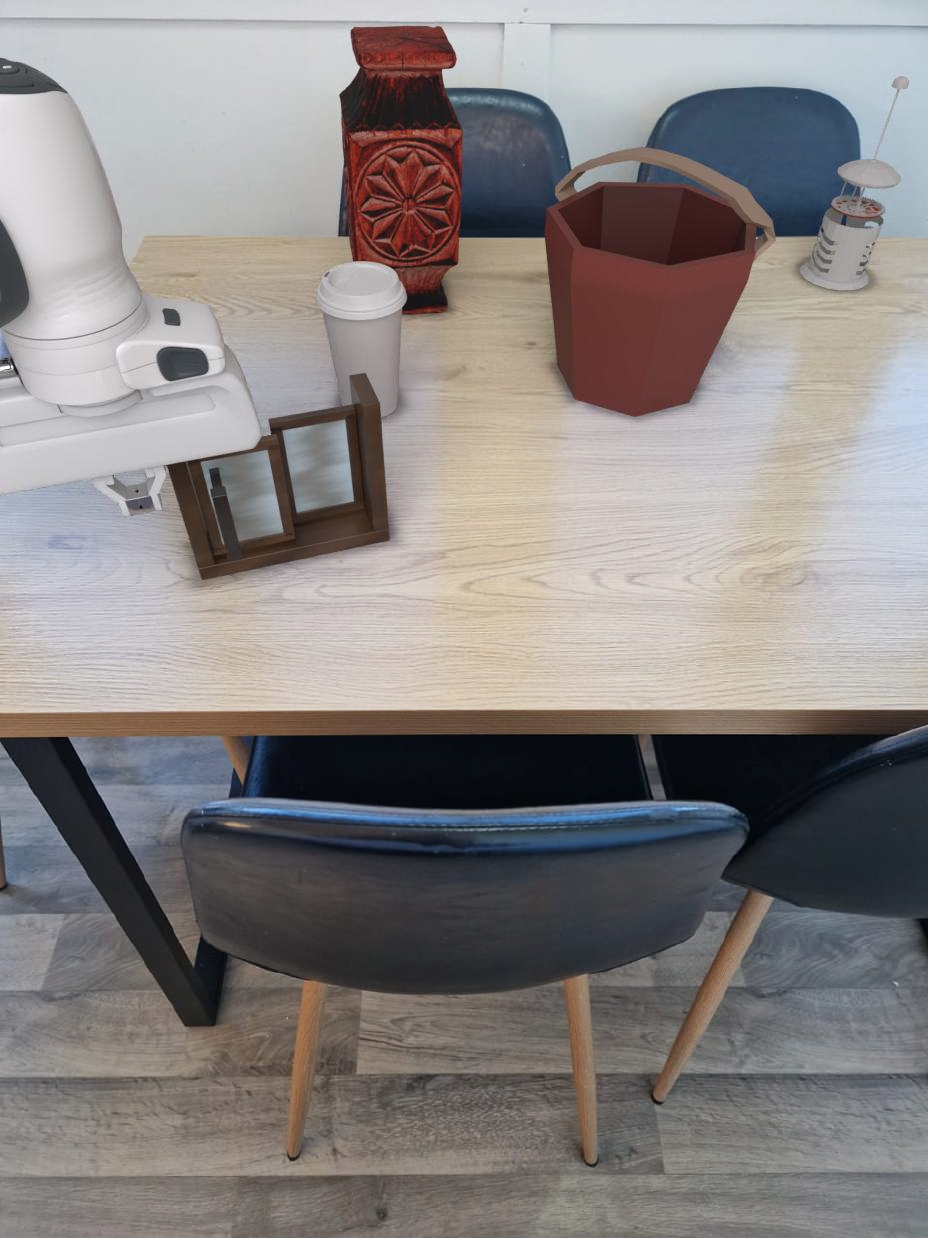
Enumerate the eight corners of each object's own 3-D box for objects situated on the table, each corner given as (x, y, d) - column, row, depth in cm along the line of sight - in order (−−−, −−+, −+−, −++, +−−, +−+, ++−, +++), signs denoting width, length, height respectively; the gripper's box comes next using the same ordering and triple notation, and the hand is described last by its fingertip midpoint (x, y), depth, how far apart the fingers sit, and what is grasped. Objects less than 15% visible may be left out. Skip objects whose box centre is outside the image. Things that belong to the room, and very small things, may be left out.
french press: (804, 287, 118) (869, 85, 100) (793, 252, 126) (852, 58, 108) (875, 292, 117) (954, 90, 99) (860, 256, 125) (931, 62, 107)
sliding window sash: (220, 590, 74) (191, 488, 65) (213, 550, 77) (184, 449, 69) (305, 571, 76) (287, 470, 67) (294, 534, 79) (276, 433, 70)
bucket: (763, 394, 100) (835, 170, 81) (632, 460, 90) (679, 225, 72) (619, 312, 113) (653, 103, 94) (491, 363, 103) (501, 142, 85)
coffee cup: (364, 372, 101) (354, 249, 90) (427, 398, 98) (424, 273, 87) (311, 408, 96) (293, 282, 85) (375, 437, 93) (365, 309, 81)
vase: (461, 318, 111) (464, 53, 89) (357, 324, 109) (335, 56, 87) (446, 271, 120) (446, 20, 98) (351, 276, 119) (329, 22, 96)
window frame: (201, 580, 77) (159, 441, 66) (195, 545, 80) (153, 407, 69) (389, 540, 81) (380, 402, 70) (376, 508, 84) (365, 372, 73)
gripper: (-94, 399, 50) (-1, 564, 61) (246, 346, 55) (279, 507, 65) (-83, 348, 54) (2, 510, 65) (232, 302, 59) (265, 460, 69)
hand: (143, 508), depth 65 cm, fingers closed
